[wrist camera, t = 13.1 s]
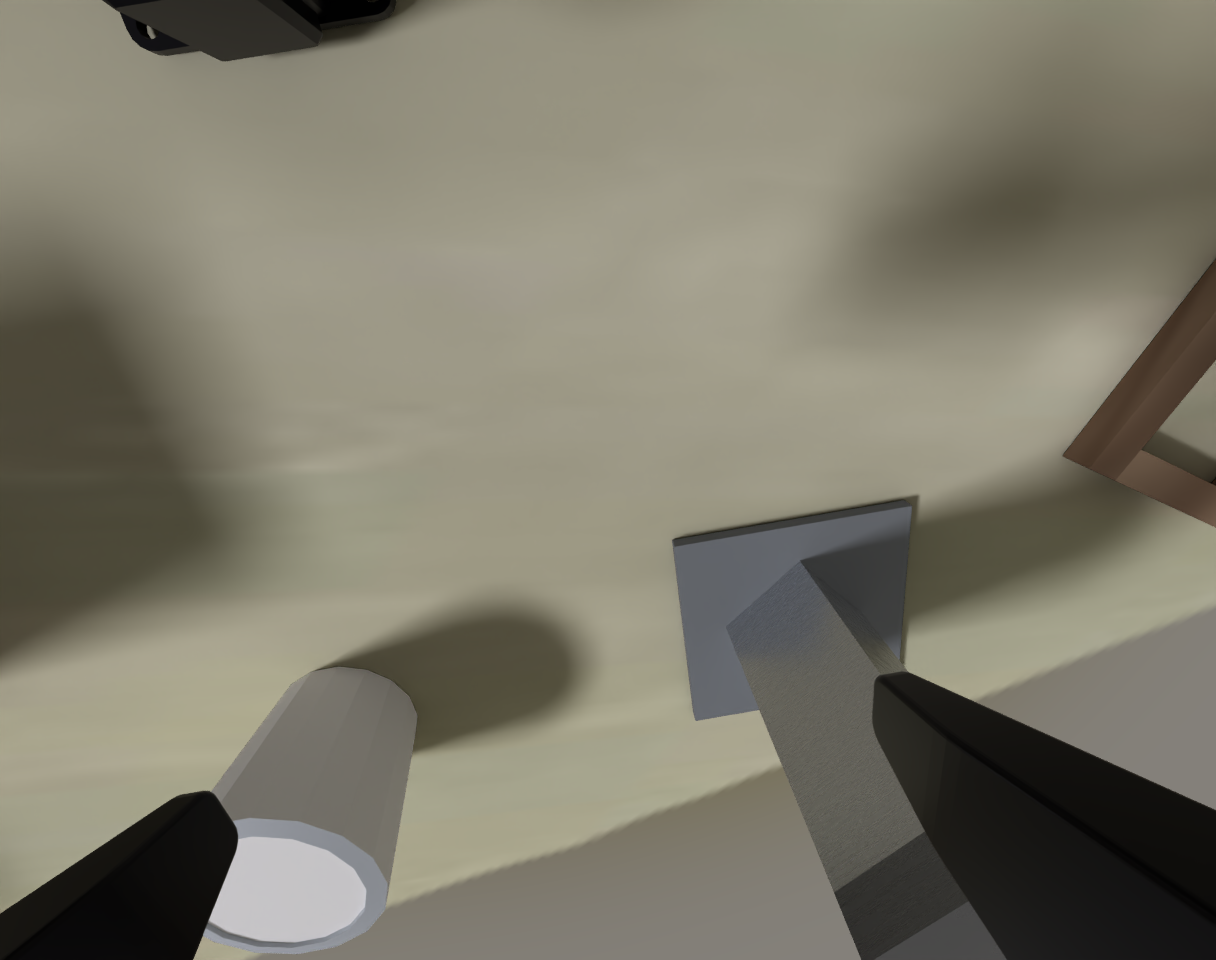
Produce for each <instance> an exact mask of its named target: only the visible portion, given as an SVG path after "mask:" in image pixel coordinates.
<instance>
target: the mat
mask: <svg viewBox="0 0 1216 960" xmlns="http://www.w3.org/2000/svg"><path fill="white" fill-rule="evenodd" d="M911 513H912V506H911V505H910V504H909V503H908V502H906V501H905V500H902V501H896V502H891V503H885V504H879V505H873V506H867V507H861V508H856V509H850V510H844V511H838V512H832V513H827V514H821V515H815V516H809V517H803V518H797V519H792V520H786V521H780V522H774V523H768V524H763V525H757V526H751V527H745V528H739V529H733V530H728V531H722V532H716V533H710V534H704V535H699V536H693V537H687V538H681V539H675V540H672V543H673V551H674V559H675V567H676V575H677V583H678V592H679V600H680V608H681V616H682V624H683V633H684V641H685V649H686V657H687V665H688V673H689V682H690V690H691V698H692V706H693V713H694V717H695V720H696V721H698V720H703V719H709V718H715V717H721V716H726V715H732V714H738V713H744V712H749V711H755V710H759V708H758V705H757V703H756V700H755V698H754V695H753V693H752V691H751V688H750V686H749V683H748V681H747V678H746V676H745V673H744V671H743V668H742V666H741V664H740V661H739V659H738V656H737V654H736V651H735V649H734V646H733V644H732V642H731V639H730V637H729V634H728V632H727V629H726V626H727V625H728V624H729V623H731V622H732V621H733V620H734V619H735V618H736V617H737V616H738V615H739V614H741V613H742V612H743V611H744V610H745V609H746V608H747V607H748V606H750V605H751V604H752V603H753V602H754V601H755V600H756V599H757V598H758V597H760V596H761V595H762V594H763V593H764V592H765V591H766V590H767V589H769V588H770V587H771V586H772V585H773V584H774V583H775V582H776V581H777V580H779V579H780V578H781V577H782V576H783V575H784V574H785V573H786V572H788V571H789V570H790V569H791V568H792V567H793V566H794V565H795V564H796V563H798V562H799V561H801V562H802V563H803V564H804V565H806V566H807V567H808V568H809V569H810V570H812V571H813V572H814V573H815V574H816V575H818V576H819V577H820V578H821V579H822V580H824V581H825V582H826V583H827V584H828V585H830V586H831V587H832V588H833V589H834V590H836V591H837V592H838V593H839V594H840V595H842V596H843V597H844V598H845V599H846V600H848V601H849V602H850V603H851V604H852V605H854V606H855V607H856V608H857V609H858V610H860V611H861V612H862V613H863V614H864V615H865V617H866V618H867V619H868V621H869V622H870V623H871V624H872V626H873V627H874V628H875V630H876V631H877V632H878V634H879V635H880V636H881V637H882V639H883V640H884V641H885V643H886V644H887V645H888V646H889V648H890V649H891V650H892V652H893V653H894V654H895V655H896V657H897V658H898V659H899V660H900V648H901V635H902V623H903V611H904V599H905V586H906V574H907V562H908V550H909V537H910V525H911Z"/></svg>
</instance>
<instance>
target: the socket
mask: <svg viewBox="0 0 1216 960" xmlns="http://www.w3.org/2000/svg"><path fill="white" fill-rule="evenodd" d="M1215 360H1216V260H1215V261H1214V262H1213V263H1212V265H1211V266H1210V267H1209V269H1208V270H1207V271H1206V272H1205V274H1204V275H1203V276H1202V278H1201V279H1200V280H1199V281H1198V283H1197V284H1196V285H1195V287H1194V288H1193V289H1192V290H1191V292H1190V293H1189V294H1188V296H1187V297H1186V298H1185V299H1184V301H1183V302H1182V303H1181V305H1180V306H1179V307H1178V308H1177V310H1176V311H1175V312H1174V313H1173V315H1172V316H1171V317H1170V319H1169V320H1168V321H1167V322H1166V324H1165V325H1164V326H1163V328H1162V329H1161V330H1160V331H1159V333H1158V334H1157V335H1156V337H1155V338H1154V339H1153V340H1152V342H1151V343H1150V344H1149V346H1148V347H1147V348H1146V349H1145V351H1144V352H1143V353H1142V355H1141V356H1140V357H1139V358H1138V360H1137V361H1136V362H1135V364H1134V365H1133V366H1132V367H1131V369H1130V370H1129V371H1128V372H1127V374H1126V375H1125V376H1124V378H1123V379H1122V380H1121V381H1120V383H1119V384H1118V385H1117V387H1116V388H1115V389H1114V390H1113V392H1112V393H1111V394H1110V396H1109V397H1108V398H1107V399H1106V401H1105V402H1104V403H1103V405H1102V406H1101V407H1100V408H1099V410H1098V411H1097V412H1096V414H1095V415H1094V416H1093V417H1092V419H1091V420H1090V421H1089V423H1088V424H1087V425H1086V426H1085V428H1084V429H1083V430H1082V431H1081V433H1080V434H1079V435H1078V437H1077V438H1076V439H1075V440H1074V442H1073V443H1072V444H1071V446H1070V447H1069V448H1068V449H1067V451H1066V452H1065V453H1064V455H1063V457H1065V458H1067V459H1069V460H1072V461H1074V462H1076V463H1078V464H1080V465H1082V466H1085V467H1087V468H1089V469H1091V470H1093V471H1095V472H1097V473H1100V474H1102V475H1104V476H1106V477H1108V478H1110V479H1113V480H1115V481H1117V482H1119V483H1121V484H1123V485H1125V486H1128V487H1130V488H1132V489H1134V490H1136V491H1138V492H1141V493H1143V494H1145V495H1147V496H1149V497H1151V498H1154V499H1156V500H1158V501H1160V502H1162V503H1164V504H1166V505H1169V506H1171V507H1173V508H1175V509H1177V510H1179V511H1182V512H1184V513H1186V514H1188V515H1190V516H1192V517H1194V518H1197V519H1199V520H1201V521H1203V522H1205V523H1207V524H1210V525H1212V526H1214V527H1216V479H1215V480H1214V481H1213V482H1212V483H1209V482H1207V481H1205V480H1203V479H1200V478H1198V477H1196V476H1194V475H1192V474H1190V473H1188V472H1186V471H1184V470H1182V469H1180V468H1178V467H1176V466H1174V465H1172V464H1170V463H1168V462H1166V461H1164V460H1162V459H1160V458H1157V457H1155V456H1153V455H1151V454H1149V453H1147V452H1145V451H1143V450H1141V449H1142V448H1143V447H1144V446H1145V444H1146V443H1147V442H1148V441H1149V440H1150V438H1151V437H1152V436H1153V435H1154V434H1155V432H1156V431H1157V430H1158V429H1159V427H1160V426H1161V425H1162V424H1163V423H1164V421H1165V420H1166V419H1167V418H1168V417H1169V415H1170V414H1171V413H1172V412H1173V411H1174V409H1175V408H1176V407H1177V406H1178V405H1179V403H1180V402H1181V401H1182V400H1183V399H1184V397H1185V396H1186V395H1187V394H1188V393H1189V391H1190V390H1191V389H1192V388H1193V387H1194V385H1195V384H1196V383H1197V382H1198V381H1199V379H1200V378H1201V377H1202V376H1203V375H1204V373H1205V372H1206V371H1207V370H1208V369H1209V367H1210V366H1211V365H1212V364H1213V363H1214V361H1215Z"/></svg>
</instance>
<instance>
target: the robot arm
mask: <svg viewBox="0 0 1216 960" xmlns="http://www.w3.org/2000/svg"><path fill="white" fill-rule="evenodd" d="M103 1H104V2H105V3H107V4H108V5H110V6H111V7H112V8H114V9H115V10H117V11H119V12H120V14H121V16H122V19H123V21H124V24H125V26H126V29H127V31H128V32H129V34H130V36H131V37H132V39H133V40H134V41H135V42H136V43H137V44H138V45H139V46H140V47H142V48H144V49H146V50H148V51H151V52H153V53H155V54H158V55H164V56H169V55H175V54H181V53H187V52H193V51H199V50H200V51H202V52H204V53H206V54H208V55H210V56H212V57H214V58H216V59H218V60H220V61H231V60H237V59H243V58H249V57H255V56H261V55H267V54H273V53H279V52H285V51H291V50H297V49H303V48H309V47H315V46H318V44H319V42H320V41H321V39H322V37H323V33H322V30H325V29H331V28H337V27H343V26H349V25H355V24H361V23H367V22H373V21H379V20H383V19H385V18H387V17H389V16H390V15H391V13H392V12H393V11H394V8H395V4H396V0H378V1H376V2H374V3H373V2H368V1H367V0H103ZM147 25H148V26H150V27H152V28H154V29H156V30H158V31H159V33H158V36H157V37H156V38H154V39H151V38H150V36H149V35H148V32H147ZM872 724H873V729H874V733H875V735H876V738H877V740H878V742H879V744H880V746H881V748H882V750H883V752H884V754H885V756H886V758H887V760H888V762H889V764H890V766H891V768H892V769H893V771H894V773H895V775H896V777H897V779H898V781H899V783H900V785H901V787H902V789H903V791H904V793H905V794H906V796H907V798H908V800H909V802H910V804H911V806H912V808H913V810H914V812H915V814H916V816H917V818H918V819H919V821H920V823H921V825H922V827H923V829H924V831H925V833H926V834H927V836H928V838H929V840H930V842H931V843H932V845H933V847H934V848H935V850H936V852H937V853H938V855H939V856H940V858H941V860H942V861H943V863H944V865H945V866H946V868H947V869H948V871H949V872H950V874H951V875H952V877H953V878H954V880H955V881H956V883H957V884H958V886H959V887H960V889H961V890H962V892H963V894H964V895H965V897H966V898H967V900H968V901H969V903H970V904H971V906H972V907H973V909H974V910H975V912H976V913H977V915H978V916H979V918H980V920H981V921H982V923H983V924H984V926H985V927H986V929H987V930H988V932H989V933H990V935H991V936H992V938H993V939H994V941H995V942H996V944H997V946H998V947H999V949H1000V950H1001V952H1002V953H1003V955H1004V956H1005V958H1006V959H1007V960H1216V810H1214V809H1212V808H1210V807H1208V806H1205V805H1203V804H1201V803H1199V802H1197V801H1194V800H1192V799H1190V798H1188V797H1185V796H1183V795H1181V794H1179V793H1177V792H1174V791H1172V790H1170V789H1167V788H1165V787H1163V786H1161V785H1159V784H1157V783H1154V782H1152V781H1150V780H1148V779H1145V778H1143V777H1141V776H1139V775H1136V774H1134V773H1132V772H1130V771H1128V770H1125V769H1123V768H1121V767H1119V766H1116V765H1114V764H1112V763H1110V762H1108V761H1105V760H1103V759H1101V758H1099V757H1096V756H1094V755H1092V754H1090V753H1087V752H1085V751H1083V750H1081V749H1079V748H1076V747H1074V746H1072V745H1070V744H1068V743H1065V742H1063V741H1061V740H1059V739H1056V738H1054V737H1052V736H1050V735H1047V734H1045V733H1043V732H1041V731H1038V730H1036V729H1034V728H1032V727H1030V726H1027V725H1025V724H1023V723H1021V722H1019V721H1016V720H1014V719H1012V718H1009V717H1007V716H1005V715H1003V714H1001V713H999V712H996V711H994V710H992V709H990V708H987V707H985V706H983V705H981V704H978V703H976V702H974V701H972V700H970V699H967V698H965V697H963V696H961V695H958V694H956V693H954V692H952V691H950V690H947V689H945V688H943V687H941V686H938V685H936V684H934V683H932V682H930V681H927V680H925V679H923V678H921V677H918V676H916V675H914V674H912V673H909V672H905V671H901V672H895V673H889V674H883V675H879V676H878V677H877V678H876V679H875V681H874V691H873V708H872ZM237 845H238V831H237V828H236V826H235V824H234V822H233V821H232V819H231V818H230V816H229V815H228V813H227V812H226V810H225V809H224V807H223V806H222V804H221V803H220V801H219V800H218V798H217V796H216V795H215V794H214V793H212V792H210V791H199V792H194V793H188V794H182V795H179V796H176V797H175V798H173V799H171V800H169V801H168V802H166V803H165V804H163V805H162V806H160V807H159V808H157V809H156V810H154V811H153V812H151V813H150V814H148V815H147V816H145V817H144V818H142V819H141V820H139V821H138V822H136V823H135V824H133V825H132V826H130V827H129V828H127V829H126V830H124V831H123V832H121V833H120V834H118V835H117V836H116V837H114V838H113V839H111V840H110V841H108V842H107V843H105V844H104V845H102V846H101V847H99V848H98V849H96V850H95V851H93V852H92V853H90V854H89V855H87V856H86V857H84V858H83V859H81V860H80V861H78V862H77V863H75V864H74V865H72V866H71V867H69V868H68V869H66V870H65V871H63V872H62V873H60V874H59V875H57V876H56V877H54V878H53V879H51V880H50V881H48V882H47V883H45V884H44V885H42V886H41V887H39V888H38V889H36V890H35V891H33V892H32V893H30V894H29V895H27V896H26V897H24V898H23V899H21V900H20V901H18V902H17V903H15V904H14V905H12V906H11V907H9V908H8V909H6V910H5V911H3V912H2V913H0V960H193V959H194V956H195V954H196V952H197V949H198V947H199V944H200V941H201V939H202V936H203V934H204V931H205V929H206V926H207V924H208V921H209V919H210V916H211V914H212V911H213V909H214V906H215V904H216V901H217V899H218V896H219V894H220V891H221V889H222V886H223V884H224V881H225V879H226V876H227V874H228V871H229V868H230V866H231V863H232V861H233V858H234V856H235V853H236V850H237Z"/></svg>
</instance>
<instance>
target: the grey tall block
mask: <svg viewBox="0 0 1216 960" xmlns="http://www.w3.org/2000/svg"><path fill="white" fill-rule="evenodd" d="M726 629H727V632H728V634H729V637H730V639H731V642H732V644H733V646H734V649H735V651H736V654H737V656H738V659H739V661H740V664H741V666H742V668H743V671H744V673H745V676H746V678H747V681H748V683H749V686H750V688H751V691H752V693H753V695H754V698H755V700H756V703H757V705H758V708H759V710H760V713H761V715H762V717H763V720H764V722H765V725H766V727H767V730H768V732H769V735H770V737H771V740H772V742H773V744H774V747H775V749H776V752H777V754H778V757H779V759H780V762H781V764H782V766H783V769H784V771H785V774H786V776H787V778H788V781H789V784H790V786H791V788H792V791H793V793H794V796H795V798H796V800H797V803H798V806H799V808H800V811H801V813H802V815H803V818H804V820H805V823H806V825H807V827H808V830H809V832H810V835H811V837H812V840H813V842H814V845H815V847H816V849H817V852H818V854H819V857H820V859H821V862H822V864H823V867H824V869H825V872H826V874H827V876H828V879H829V882H830V884H831V886H832V889H833V891H834V894H835V896H836V899H837V901H838V904H839V906H840V908H841V911H842V913H843V916H844V918H845V921H846V923H847V926H848V928H849V930H850V933H851V935H852V938H853V940H854V943H855V945H856V948H857V950H858V952H859V955H860V957H861V960H1007V959H1006V958H1005V956H1004V955H1003V953H1002V952H1001V950H1000V949H999V947H998V946H997V944H996V942H995V941H994V939H993V938H992V936H991V935H990V933H989V932H988V930H987V929H986V927H985V926H984V924H983V923H982V921H981V920H980V918H979V916H978V915H977V913H976V912H975V910H974V909H973V907H972V906H971V904H970V903H969V901H968V900H967V898H966V897H965V895H964V894H963V892H962V890H961V889H960V887H959V886H958V884H957V883H956V881H955V880H954V878H953V877H952V875H951V874H950V872H949V871H948V869H947V868H946V866H945V865H944V863H943V861H942V860H941V858H940V856H939V855H938V853H937V852H936V850H935V848H934V847H933V845H932V843H931V842H930V840H929V838H928V836H927V834H926V833H925V831H924V829H923V827H922V825H921V823H920V821H919V819H918V818H917V816H916V814H915V812H914V810H913V808H912V806H911V804H910V802H909V800H908V798H907V796H906V794H905V793H904V791H903V789H902V787H901V785H900V783H899V781H898V779H897V777H896V775H895V773H894V771H893V769H892V768H891V766H890V764H889V762H888V760H887V758H886V756H885V754H884V752H883V750H882V748H881V746H880V744H879V742H878V740H877V738H876V735H875V733H874V729H873V724H872V708H873V691H874V681H875V679H876V678H877V677H878V676H879V675H883V674H889V673H895V672H901V671H905V672H908V671H907V670H906V668H905V667H904V666H903V664H902V663H901V662H900V661H899V659H898V658H897V657H896V655H895V654H894V653H893V652H892V650H891V649H890V648H889V646H888V645H887V644H886V643H885V641H884V640H883V639H882V637H881V636H880V635H879V634H878V632H877V631H876V630H875V628H874V627H873V626H872V624H871V623H870V622H869V621H868V619H867V618H866V617H865V615H864V614H863V613H862V612H861V611H860V610H858V609H857V608H856V607H855V606H854V605H852V604H851V603H850V602H849V601H848V600H846V599H845V598H844V597H843V596H842V595H840V594H839V593H838V592H837V591H836V590H834V589H833V588H832V587H831V586H830V585H828V584H827V583H826V582H825V581H824V580H822V579H821V578H820V577H819V576H818V575H816V574H815V573H814V572H813V571H812V570H810V569H809V568H808V567H807V566H806V565H804V564H803V563H802V562H801V561H799V562H798V563H796V564H795V565H794V566H793V567H792V568H791V569H790V570H789V571H788V572H786V573H785V574H784V575H783V576H782V577H781V578H780V579H779V580H777V581H776V582H775V583H774V584H773V585H772V586H771V587H770V588H769V589H767V590H766V591H765V592H764V593H763V594H762V595H761V596H760V597H758V598H757V599H756V600H755V601H754V602H753V603H752V604H751V605H750V606H748V607H747V608H746V609H745V610H744V611H743V612H742V613H741V614H739V615H738V616H737V617H736V618H735V619H734V620H733V621H732V622H731V623H729V624H728V625H727V626H726Z"/></svg>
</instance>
